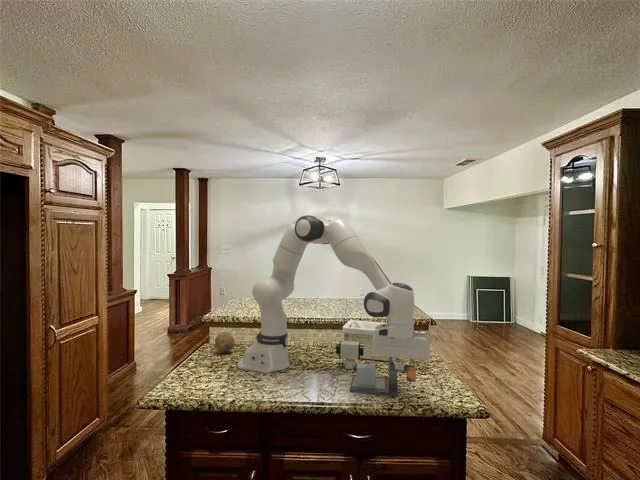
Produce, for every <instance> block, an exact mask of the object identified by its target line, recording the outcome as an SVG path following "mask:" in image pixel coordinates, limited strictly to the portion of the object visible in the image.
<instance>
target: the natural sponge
mask: <svg viewBox="0 0 640 480" xmlns="http://www.w3.org/2000/svg"><path fill="white" fill-rule="evenodd" d="M214 340H215V341H214V342H215V346H216V348H217V350H218V352H219V353H221V354H225V353H227V352H228V351H229V350H230V351H231V349H233V348H234V346H235V345H236V344H235V343H236V342H235V339H234V337H233V335H232V334H231V333H229V332H227V331H224V332H220V333H219V334H217V336H216V337H215V338H214Z"/></svg>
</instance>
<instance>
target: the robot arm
mask: <svg viewBox="0 0 640 480" xmlns="http://www.w3.org/2000/svg"><path fill="white" fill-rule="evenodd" d="M309 244H314V245H317V244H320V245H330V247H331V248H332V251H333V252H334V254H335V256H336V258H337V259H338V260H339V261H340V263H341V265H344V266H346V267H347V268H351V269H355V270H357V271H359V272H362V273H363V274H364V275H365V276H366V277H367V278H368V280H369V282H370V283H371V284H372V286H373V287H374V288H375V290H373V291H370V292H367V294H366V295H365V296H364V298H363V308H364V310H365V312H366V313H367V315H368V316H370V317H373V318H387V322H385V323H386V324H381V325H377V326H376V328H375V334H374V336H373V339H372V344H371V353H372V355H376V356H387V357H392V360H393V362H394V364H395V370H404V365H407V362H408V359H411V360H421V361H422V360H424V361H428V360H430V358H431V348H430V345H431V344H432V336H431V334H430V333H428V332H427V331H418V330H414V329H415V328H414V327H415V326H414V324H415V323H414V322H415V321H414V313H415V292H414V290H413V288H412V287H411V286H410V285H408V284H406V283H403V282H401V283H400V282H393V283H392V282H391V281H390V279H389V278H388V276H387V275H386V274H385V272H384V270H383V269H382V268H381V266H380V265H379V264H378V262H377V261H376V260H375V258H374V257H373V256H372V255H371V254H370V253H369V252H368V250H367V248H366V247H365V246H364V244H363V243H362V240H361V239H360V238H359V236H358V234H357V233H356V231H355V230H354V229H353V227H352V226H351V225H350V223H349V222H348V221H347V220H345V219H343V218H334V219H332V220H330V219H327V218H324V217H321V216H313V215H302V216H300V217H299V218H298V219H297V220H296V222H295V223H293V224H291V225H289V226H288V228H287V229H286V231H285V232H284V233H283V236H282V238H281V239H280V242H279V244H278V246H277V248H276V249H277V250H276V252H275V253H274V255H273V259H272V263H273V269H272V273H271V275H270V276H269V277H264V278H262V279H260V280H258V281H257V282H256V283H255V284H254V285H253V287H252V292H251V293H252V297H253V299H254V300H255V301H256V303H257V305H258V307H259V308H258V309H259V312H260V323H261V324H260V331H259V332H258V333H257V334H256V335H255V340H256V342H255V341H254V343H253V344H251V345H250V346H249V347H248V348H247V349H245V352H244V353H243V358H241V359H240V360H239V361H238V363H237V369H241V370H246V371H247V370H248V371H253V372H258V373H264V374H268V373H269V374H270V373H272V372H279V371H282V370H285V369H287V368H289V367H290V366H291V363H290V360H289V354H288V343H289V342H288V341H289V339H288V337H289V336H288V332H287V331H288V330H287V329H288V328H287V327H288V326H287V324H288V322H287V313H286V312H285V311H284V306H283V303H282V302H283V300H285V299H287V298H289V296H291V295H292V293H293V292H294V290H295V277H296V273H297V270H298V267H299V264H300V263H301V260H302V258H303V255H304V252H305V250H306V248H307V247H308V245H309ZM396 357H398V358H399V359H400V358H401V359H402V363H397V362H396Z"/></svg>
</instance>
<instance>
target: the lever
mask: <svg viewBox="0 0 640 480" xmlns="http://www.w3.org/2000/svg"><path fill="white" fill-rule="evenodd" d="M416 375H417V369H416V367H415V368H413V367H408V368H407V372H406V381H407V382H410V383H415V382H416V380H417V379H416V378H417V376H416Z"/></svg>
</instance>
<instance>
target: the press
mask: <svg viewBox="0 0 640 480" xmlns="http://www.w3.org/2000/svg"><path fill="white" fill-rule="evenodd" d="M398 358H399V357H396V362H397V363H398V362H399V359H398ZM398 364H399V363H398ZM408 367H413V368H415V369H416V367H415V365H412V364H405V365H404V370H395V364H394V362H393V360H392V357H389V361H388V377H387V376H376V383H375V385H367V384H356V380H357V374H353V376H352V379H351V382H350V387H349V393H352V394H353V393H355V394H364V395H365V394H366V395H375V396H376V395H377V396H388V397H396V398H397V397H398V394H399V392H398V372H400V373H401V372H402V373H404V372H405V373H407V368H408Z"/></svg>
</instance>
